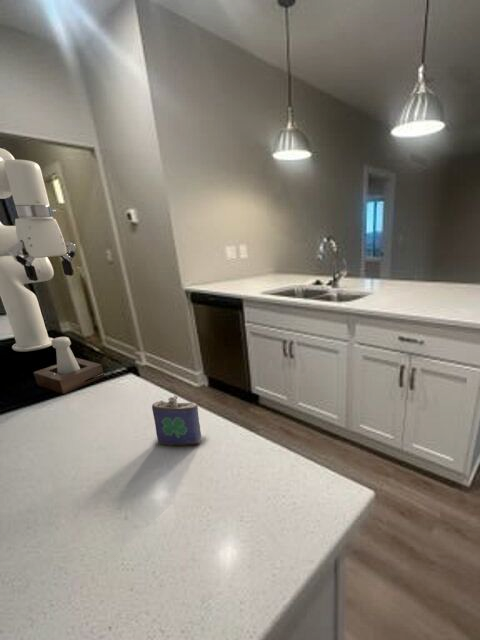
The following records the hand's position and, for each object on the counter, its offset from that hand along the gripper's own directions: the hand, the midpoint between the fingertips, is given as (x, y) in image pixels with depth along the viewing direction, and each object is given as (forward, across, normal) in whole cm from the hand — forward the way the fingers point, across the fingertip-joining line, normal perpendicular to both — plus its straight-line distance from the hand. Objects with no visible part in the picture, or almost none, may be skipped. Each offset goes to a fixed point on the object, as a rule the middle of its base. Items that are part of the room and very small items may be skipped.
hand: (51, 277), depth 99 cm
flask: (+26, +15, +60) cm, 68 cm away
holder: (+27, +8, +11) cm, 30 cm away
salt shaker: (+27, +8, +11) cm, 31 cm away
